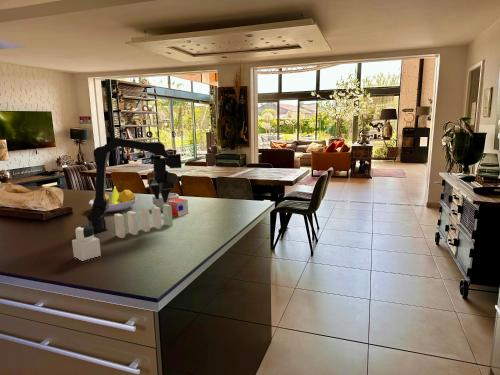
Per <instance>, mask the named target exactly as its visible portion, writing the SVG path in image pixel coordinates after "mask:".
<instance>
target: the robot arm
mask: <svg viewBox="0 0 500 375" xmlns="http://www.w3.org/2000/svg"><path fill="white" fill-rule="evenodd" d="M118 147H122V148H126V149H127V148H129V149H132V150H133V149H134V150H141V151H144V152H148V153H150V154H151V155H150V157H149V158H148V160H151V161H152V165H153V166H152V167H153V169H152V171H151V173H152V174H153V177H150V178H147V182H146V183H147V185H148V187H149V188H150V190H151V192H152V193H153V195H154V196H155V197H156V199H159V194H161V196H162V198H163V201H164V203H166V202H167V199H168V195H169V193H171V191H173V190H174V189H175V188H176V187H175V184H176V183H177V182H178V178H179V176H178V175H173V173H172V172H170V171H168V170H167V167H168V168H169V169H182V159H181V153H177V154H170V153H169V152H168V151H167V150H166V146H165V145H164V143H163V142H161V141H140V140H133V139H127V138H121V137H118V136H117V137H114V138H112V140H110V141H108V142H107V143H105V144H104V145H101V146H98V147H95V149H93V152H92V154H93V159H94V162H95V169H96V171H95V195H94V196H95V199H94V198H93V199H94V202H93V206H91V212H90V213H89V214H88V215H87V216H86V218H87V223H88V226H92V227H93V230H94V234H99V233H101V232H102V233H103V232H106V231H108V228H107V223H106V219H105V216H104V215H105V214H106V213H107V212H106V211H107V209H108V208H109V199H106V197H105V194H106V185H107V184H106V181H107V180H106V179H107V166H108V163H109V162H108V161H109V159H110V154H111V153H112V151H114V150H116V149H117V148H118ZM161 156H162V157H161Z"/></svg>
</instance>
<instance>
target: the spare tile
mask: <svg viewBox="0 0 500 375" xmlns="http://www.w3.org/2000/svg"><path fill="white" fill-rule="evenodd" d="M162 218H163V225H164V226H167V227H172V226H173V216H172V208H171V206H170V205H167V204H164V205H163V210H162Z"/></svg>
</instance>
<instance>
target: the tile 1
mask: <svg viewBox="0 0 500 375" xmlns="http://www.w3.org/2000/svg"><path fill="white" fill-rule="evenodd" d="M113 215H114V218H113V219H114V227H115V228H114V229H115V236H116V237H117V238H119V239H123V238H126V231H125V223H124V222H125V221H124V220H125V219H124V215H123V214H121V213H114V214H113Z"/></svg>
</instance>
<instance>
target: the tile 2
mask: <svg viewBox="0 0 500 375" xmlns="http://www.w3.org/2000/svg"><path fill="white" fill-rule="evenodd" d="M126 214H127V215H126V216H127V224H128V225H127V226H128V234H131V235H133V236H135V235H136V236H137V235H139V232H138V231H139V230H138V218H137V212H135V211H133V210H129V211H127V212H126Z"/></svg>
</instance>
